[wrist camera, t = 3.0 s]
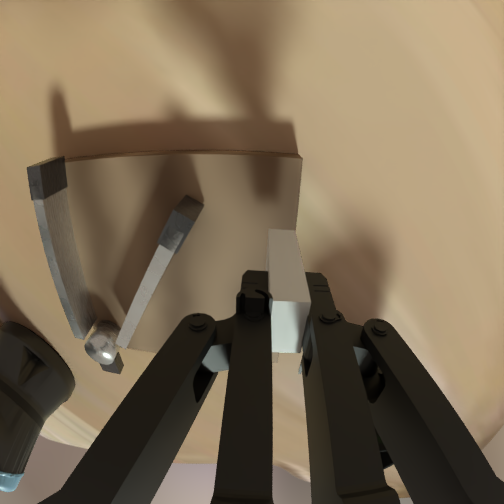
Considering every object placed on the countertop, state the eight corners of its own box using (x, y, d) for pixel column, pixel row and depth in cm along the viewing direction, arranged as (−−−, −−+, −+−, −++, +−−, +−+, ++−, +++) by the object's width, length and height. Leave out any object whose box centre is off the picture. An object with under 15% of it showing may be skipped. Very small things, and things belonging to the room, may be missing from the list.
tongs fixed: (100, 351, 26) (90, 371, 23) (51, 158, 17) (26, 167, 14) (131, 357, 26) (122, 379, 23) (89, 152, 17) (64, 161, 14)
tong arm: (125, 319, 23) (113, 342, 21) (186, 194, 18) (173, 209, 15) (139, 326, 24) (127, 350, 21) (204, 205, 18) (195, 222, 16)
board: (106, 330, 27) (99, 343, 25) (69, 158, 19) (54, 163, 17) (276, 347, 27) (277, 362, 25) (298, 154, 19) (302, 158, 17)
